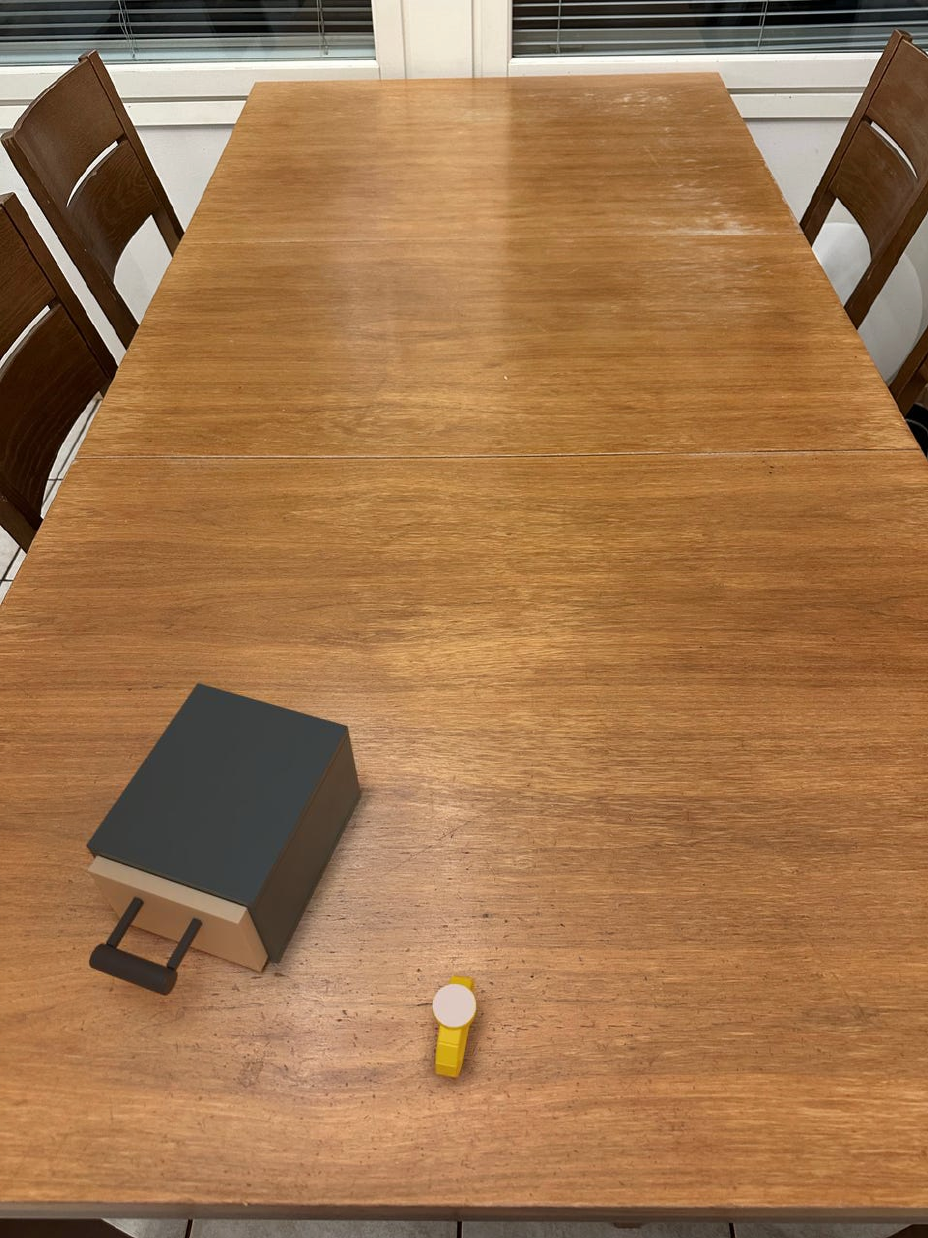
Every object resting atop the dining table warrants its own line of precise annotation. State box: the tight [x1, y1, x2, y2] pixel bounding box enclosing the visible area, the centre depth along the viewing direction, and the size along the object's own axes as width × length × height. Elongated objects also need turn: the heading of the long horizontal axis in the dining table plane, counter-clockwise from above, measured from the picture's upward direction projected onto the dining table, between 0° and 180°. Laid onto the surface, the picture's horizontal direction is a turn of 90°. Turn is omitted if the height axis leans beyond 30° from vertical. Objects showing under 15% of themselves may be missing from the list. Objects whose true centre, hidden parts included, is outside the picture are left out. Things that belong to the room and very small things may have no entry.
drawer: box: [87, 856, 268, 997], centre depth 67 cm, size 18×11×8 cm, turn 160°
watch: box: [431, 974, 478, 1078], centre depth 61 cm, size 6×3×6 cm, turn 169°
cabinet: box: [85, 682, 362, 965], centre depth 70 cm, size 15×13×10 cm
